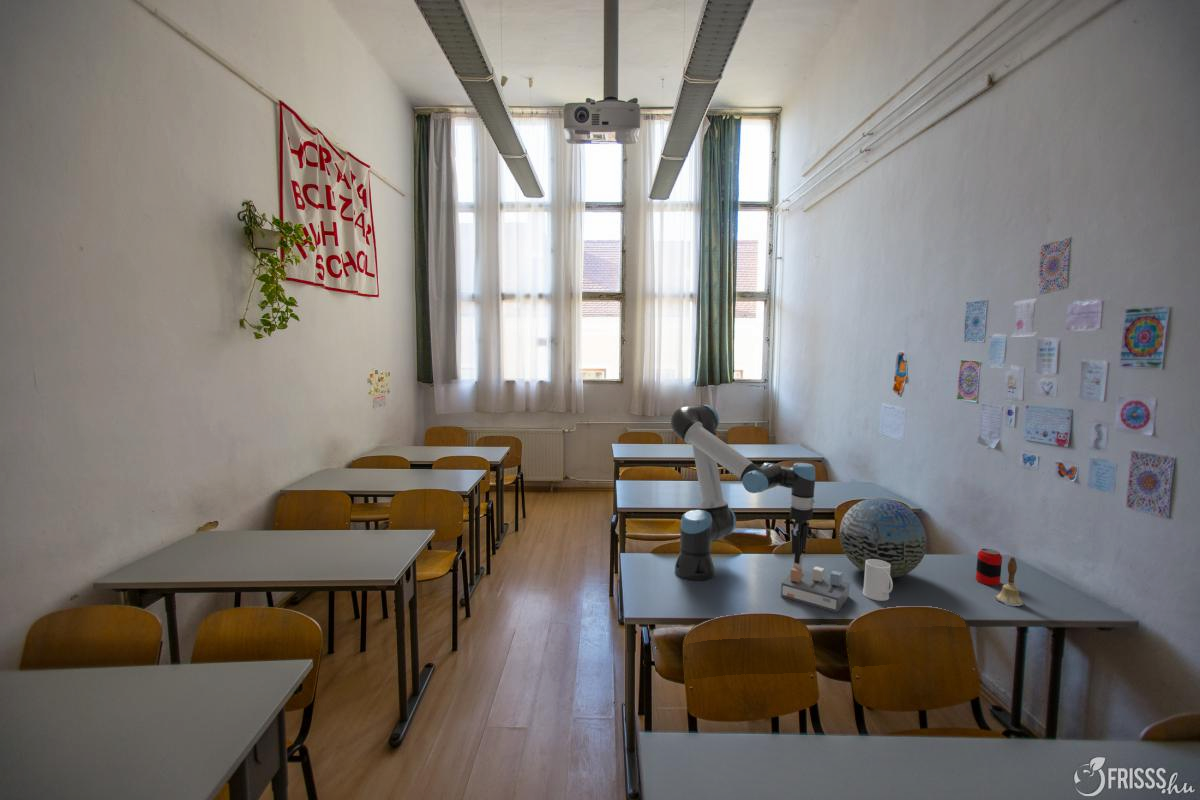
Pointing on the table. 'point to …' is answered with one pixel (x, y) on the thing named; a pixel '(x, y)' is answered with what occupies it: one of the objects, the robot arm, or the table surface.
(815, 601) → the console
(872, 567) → the mug
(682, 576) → the robot arm
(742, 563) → the table surface
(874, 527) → the decorative globe
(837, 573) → the block
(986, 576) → the soda can
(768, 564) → the table surface
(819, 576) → the slider ivory
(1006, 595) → the hand bell
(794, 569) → the slider terracotta
